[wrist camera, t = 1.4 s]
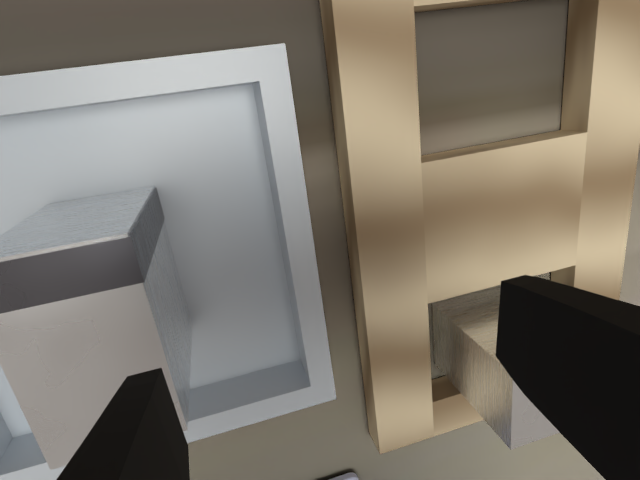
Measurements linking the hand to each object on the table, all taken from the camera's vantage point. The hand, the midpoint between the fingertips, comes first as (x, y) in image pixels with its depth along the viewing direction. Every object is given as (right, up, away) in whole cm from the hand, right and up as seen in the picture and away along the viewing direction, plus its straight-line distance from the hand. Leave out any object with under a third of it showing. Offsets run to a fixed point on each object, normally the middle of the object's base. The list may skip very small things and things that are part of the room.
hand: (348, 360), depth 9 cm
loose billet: (-8, +1, +7) cm, 11 cm away
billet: (+8, -2, +13) cm, 16 cm away
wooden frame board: (+7, +4, +11) cm, 14 cm away
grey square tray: (-8, +2, +8) cm, 11 cm away
